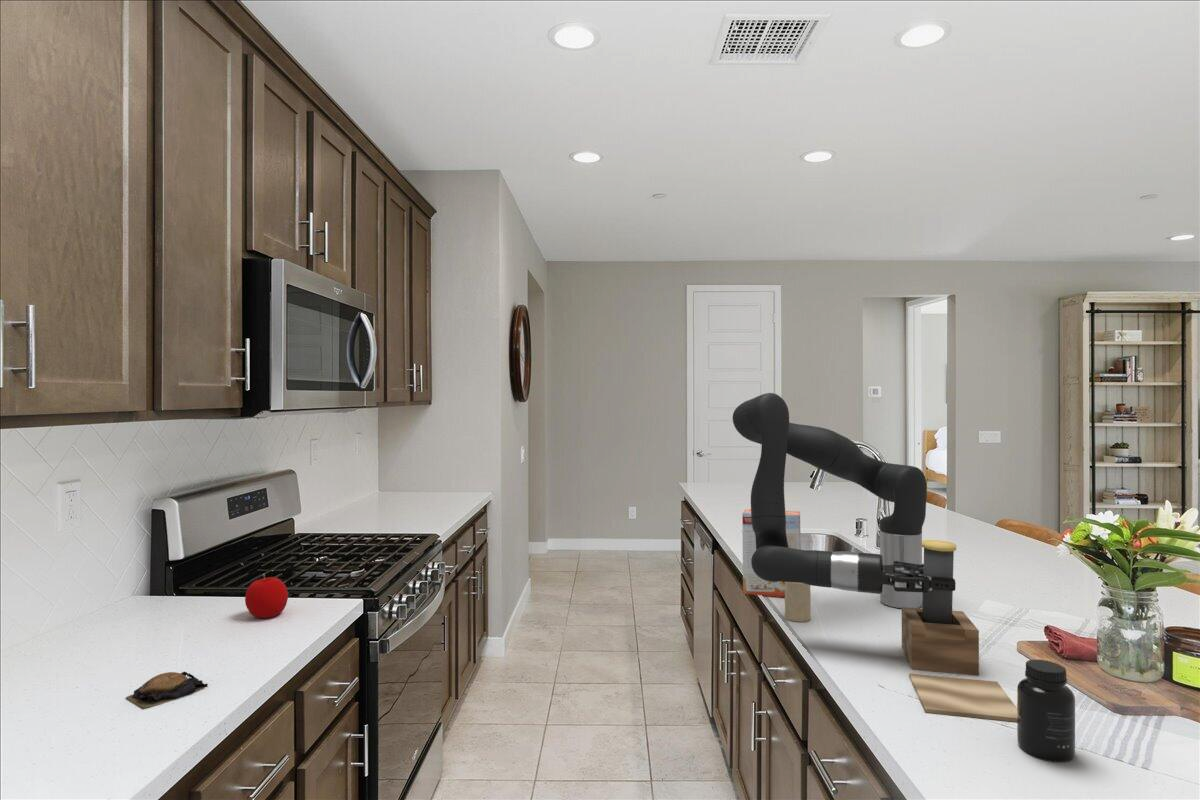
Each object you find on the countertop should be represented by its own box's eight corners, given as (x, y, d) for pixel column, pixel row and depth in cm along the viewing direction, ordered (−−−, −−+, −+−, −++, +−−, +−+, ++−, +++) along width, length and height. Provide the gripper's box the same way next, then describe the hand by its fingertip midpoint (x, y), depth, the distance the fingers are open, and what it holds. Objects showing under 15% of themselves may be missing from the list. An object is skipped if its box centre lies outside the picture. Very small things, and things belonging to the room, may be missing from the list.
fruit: (238, 616, 156) (238, 572, 156) (279, 607, 163) (278, 565, 163) (254, 625, 150) (253, 580, 150) (295, 615, 157) (295, 572, 156)
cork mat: (908, 676, 120) (908, 673, 120) (997, 685, 117) (997, 681, 117) (925, 712, 107) (925, 708, 107) (1025, 722, 103) (1025, 719, 103)
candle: (811, 623, 149) (811, 577, 149) (785, 621, 150) (785, 576, 150) (809, 615, 155) (809, 571, 155) (784, 613, 156) (783, 570, 156)
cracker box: (801, 593, 172) (801, 510, 172) (800, 599, 166) (800, 514, 166) (745, 588, 177) (745, 507, 176) (742, 594, 171) (742, 511, 171)
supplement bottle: (1006, 739, 99) (1005, 656, 98) (1050, 737, 99) (1050, 655, 99) (1040, 765, 92) (1040, 676, 92) (1087, 762, 92) (1087, 674, 92)
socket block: (901, 647, 134) (901, 607, 134) (962, 652, 132) (962, 611, 132) (911, 669, 124) (911, 625, 124) (978, 675, 121) (978, 630, 121)
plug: (939, 615, 131) (941, 539, 131) (961, 626, 125) (963, 546, 125) (913, 617, 130) (915, 540, 130) (934, 628, 124) (936, 547, 124)
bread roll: (143, 714, 109) (143, 692, 109) (122, 700, 114) (122, 679, 114) (213, 690, 118) (212, 669, 118) (190, 678, 123) (190, 658, 123)
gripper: (855, 561, 126) (957, 570, 120) (857, 545, 140) (950, 552, 133) (855, 601, 127) (957, 612, 120) (857, 581, 140) (950, 590, 133)
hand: (953, 580), depth 127 cm, fingers closed on plug, 5 cm apart
